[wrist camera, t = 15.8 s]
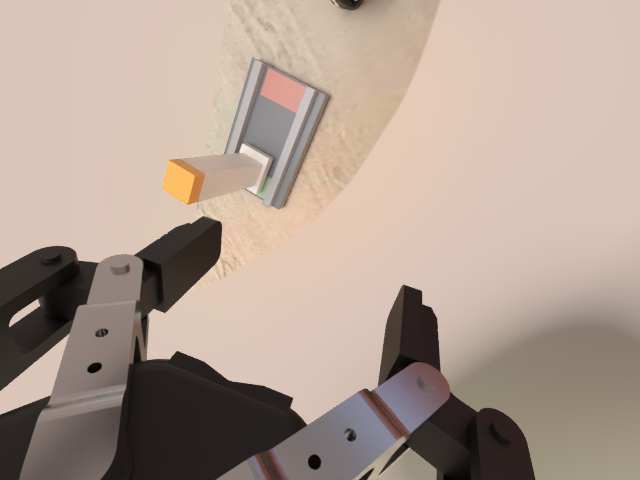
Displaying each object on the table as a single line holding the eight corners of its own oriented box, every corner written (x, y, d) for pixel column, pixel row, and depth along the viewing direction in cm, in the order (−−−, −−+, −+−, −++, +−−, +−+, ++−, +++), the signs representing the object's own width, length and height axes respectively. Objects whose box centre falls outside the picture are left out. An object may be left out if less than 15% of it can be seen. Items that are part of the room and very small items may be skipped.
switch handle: (247, 143, 40) (166, 147, 28) (273, 157, 39) (202, 168, 27) (236, 178, 42) (156, 195, 30) (260, 192, 41) (189, 216, 30)
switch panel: (259, 60, 38) (247, 55, 36) (329, 96, 36) (322, 94, 34) (225, 172, 44) (213, 174, 42) (283, 207, 43) (275, 211, 41)
